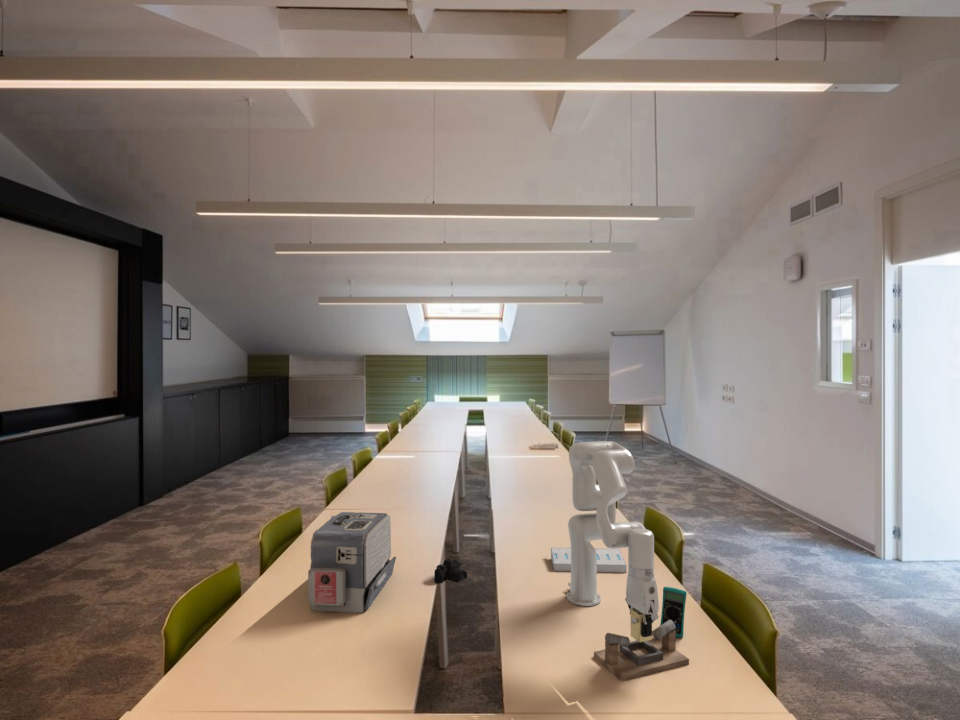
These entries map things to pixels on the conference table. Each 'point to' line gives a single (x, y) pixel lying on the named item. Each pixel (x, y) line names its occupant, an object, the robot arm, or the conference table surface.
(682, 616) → the digital multimeter
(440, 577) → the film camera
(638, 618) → the block
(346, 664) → the conference table surface
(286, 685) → the conference table surface
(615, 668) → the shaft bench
